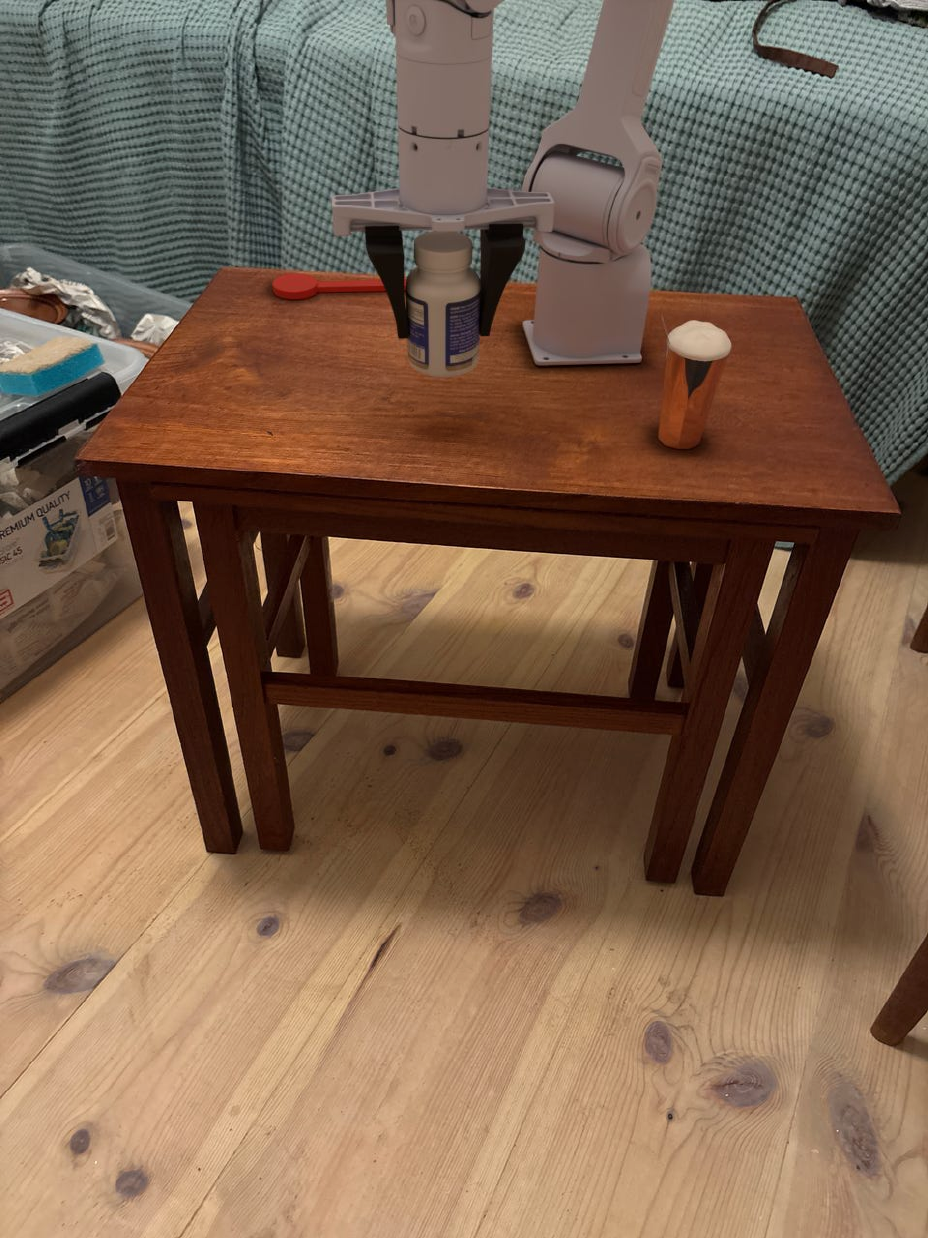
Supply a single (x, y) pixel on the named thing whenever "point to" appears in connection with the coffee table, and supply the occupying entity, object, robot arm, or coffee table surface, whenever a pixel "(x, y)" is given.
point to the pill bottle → (443, 306)
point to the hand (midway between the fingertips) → (442, 331)
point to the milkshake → (690, 381)
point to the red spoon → (319, 286)
